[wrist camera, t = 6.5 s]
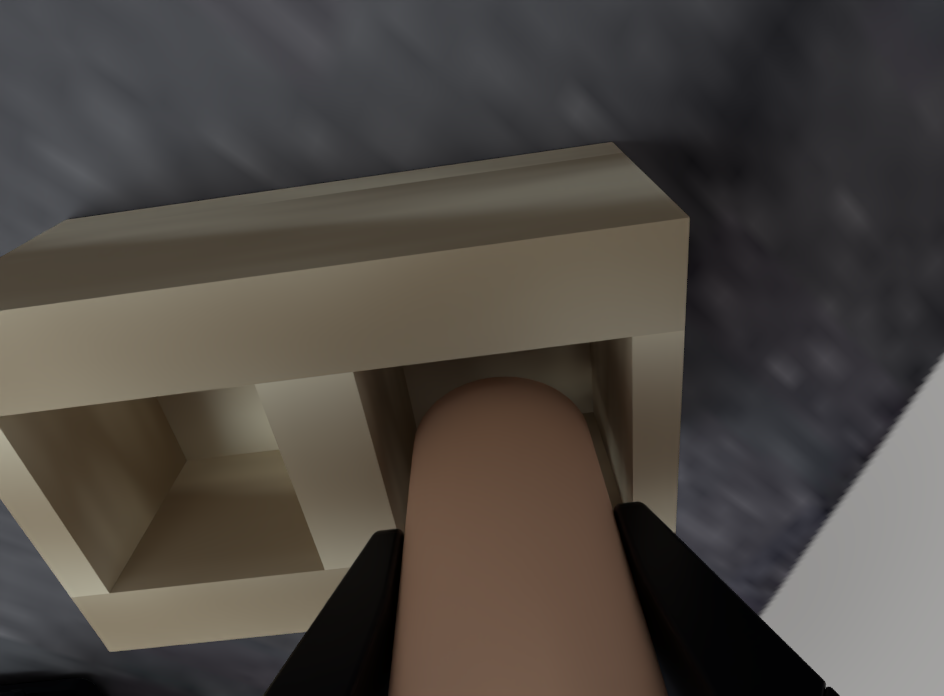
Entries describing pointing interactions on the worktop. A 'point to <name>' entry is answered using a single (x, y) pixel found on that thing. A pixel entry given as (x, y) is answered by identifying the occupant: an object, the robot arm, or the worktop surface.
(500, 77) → the worktop surface
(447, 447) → the peg
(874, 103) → the worktop surface
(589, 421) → the socket block
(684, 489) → the worktop surface
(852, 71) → the worktop surface
